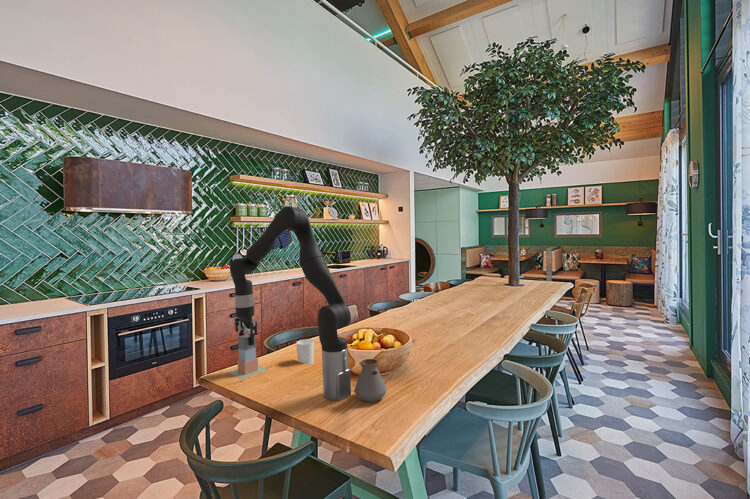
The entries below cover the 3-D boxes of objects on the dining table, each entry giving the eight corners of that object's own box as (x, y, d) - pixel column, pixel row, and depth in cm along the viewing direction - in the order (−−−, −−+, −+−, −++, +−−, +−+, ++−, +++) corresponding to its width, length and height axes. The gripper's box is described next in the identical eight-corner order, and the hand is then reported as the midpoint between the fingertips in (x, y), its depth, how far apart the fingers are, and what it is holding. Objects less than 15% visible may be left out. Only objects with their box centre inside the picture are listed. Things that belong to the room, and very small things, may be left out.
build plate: (268, 373, 157) (268, 369, 157) (242, 382, 148) (242, 378, 148) (253, 367, 165) (253, 363, 165) (227, 375, 156) (227, 372, 155)
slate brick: (255, 347, 156) (254, 335, 156) (244, 350, 152) (244, 338, 152) (249, 345, 159) (248, 333, 159) (238, 348, 155) (237, 336, 155)
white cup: (293, 365, 165) (292, 343, 165) (304, 359, 172) (303, 338, 172) (307, 367, 162) (306, 345, 161) (318, 361, 169) (317, 340, 168)
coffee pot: (353, 392, 136) (351, 352, 135) (383, 388, 137) (382, 349, 137) (359, 421, 115) (358, 374, 114) (395, 417, 116) (394, 370, 116)
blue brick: (256, 358, 156) (255, 347, 156) (245, 362, 152) (244, 350, 152) (249, 356, 159) (249, 345, 159) (239, 359, 156) (238, 348, 155)
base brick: (258, 370, 156) (257, 358, 156) (245, 374, 152) (244, 362, 152) (250, 367, 160) (250, 356, 160) (237, 371, 156) (237, 359, 156)
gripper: (262, 305, 153) (264, 344, 154) (244, 301, 162) (245, 338, 163) (245, 308, 147) (247, 349, 148) (227, 304, 157) (229, 343, 157)
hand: (246, 343), depth 155 cm, fingers open, 7 cm apart
